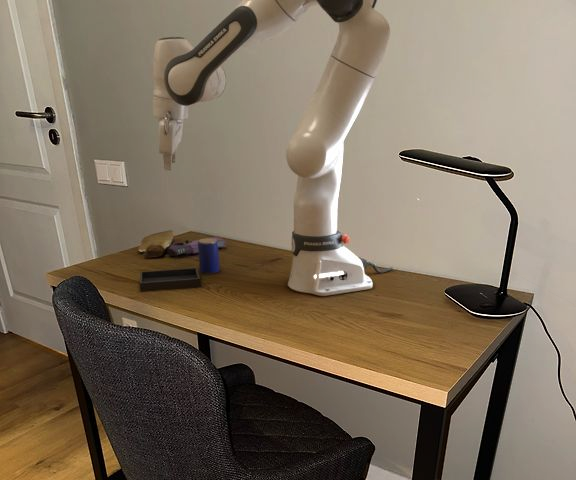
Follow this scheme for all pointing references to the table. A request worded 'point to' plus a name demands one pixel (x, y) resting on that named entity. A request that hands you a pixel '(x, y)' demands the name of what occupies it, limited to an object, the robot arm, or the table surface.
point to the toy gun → (189, 247)
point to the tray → (169, 279)
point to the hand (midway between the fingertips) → (170, 165)
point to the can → (208, 256)
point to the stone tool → (156, 243)
